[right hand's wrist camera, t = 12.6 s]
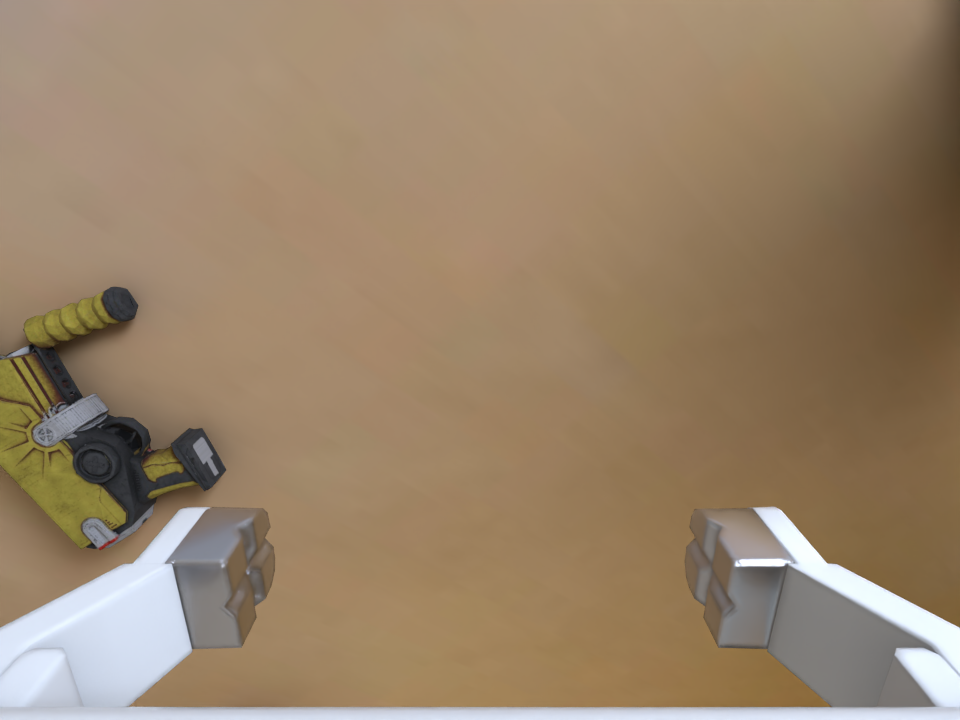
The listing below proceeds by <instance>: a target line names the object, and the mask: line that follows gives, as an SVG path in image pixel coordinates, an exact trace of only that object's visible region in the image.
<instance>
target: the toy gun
mask: <svg viewBox="0 0 960 720" xmlns="http://www.w3.org/2000/svg"><path fill="white" fill-rule="evenodd" d="M137 308H138V304H137V303H136V301H135V300H134V298H133V297H132V296H131V294H130V293H129V291H128V290H127V289H125V288H120V287H110V288H109V289H107V290H106V291H103V292H101V293H100V294H98V295H96V296H95V297H94V298H93V297H92V298H87V299H82V300H81V301H80V302H79V303H78V304H76V303H71V304H69V305H67V306H65V307H64V308H62V309H57V310H52V311H50V312H48V313H46V314H45V316H35V317H32V318H30V319H27V320H26V322H25V323H24V329H23V330H24V332H25V334H26V338H27V339H28V340H29V341H30V342H31V343H32V344H31V345H28V346H26V347H24V348H22V349H20V350H18V351H15V352H12V353H9V354H8V355H7V356H4V355H0V466H1V467H2V468H3V469H4V470H5V471H6V472H7V473H8V474H9V475H10V476H11V477H12V478H13V479H14V480H15V481H16V482H17V483H18V484H19V485H20V486H21V488H22V489H23V490H24V491H25V492H26V493H27V494H28V495H29V496H30V497H31V498H32V499H33V500H34V501H35V502H36V503H37V504H38V505H39V506H40V507H41V508H42V509H43V510H44V511H45V512H46V513H47V515H48V516H49V517H50V518H51V519H52V520H53V521H54V522H55V523H56V524H57V525H58V526H59V527H60V528H61V529H62V530H63V531H64V532H65V533H66V534H67V535H68V536H69V537H70V538H71V539H72V541H73V542H74V543H75V544H76V545H77V546H78V547H79V548H80V549H83V548H85V547H87V548H92V549H99V550H101V549H103V548H110V547H111V546H113V545H114V544H116V543H118V542H119V541H121V540H122V539H124V538H126V537H127V536H129V535H130V534H132V533H134V532H135V531H136V530H137V529H138V528H139V527H140V526H141V525H142V524H143V523H144V522H145V521H146V520H147V519H148V518H149V517H150V516H151V515H152V514H153V508H154V503H155V502H156V499H157V496H159V495H161V494H164V493H167V492H170V491H173V490H176V489H179V488H183V487H189V486H194V485H200V486H201V488H202V489H203V490H204V491H206V490H208V489H210V488H211V487H212V486H213V485H214V484H215V483H216V482H217V480H218V479H219V478H220V477H221V476H222V475H223V473H224V472H225V471H226V468H225V466H224V465H223V463H222V461H221V459H220V458H219V456H218V454H217V452H216V451H215V449H214V447H213V446H212V444H211V442H210V441H209V439H208V437H207V436H206V434H205V432H204V431H203V429H202V428H201V429H190V428H189V429H188V430H187V431H186V432H184V433H183V434H182V435H181V436H180V437H179V438H178V439H176V440H175V441H174V442H173V443H172V444H171V447H169V448H167V449H158V450H156V451H153V450H151V449H150V441H151V439H150V436H149V432H148V429H146V428H145V427H144V426H143V425H141V424H140V423H139V422H137V421H136V420H135V419H134V418H127V417H117V418H116V417H113V416H110V415H107V414H105V413H106V412H108V411H109V409H108V408H107V406H106V405H105V404H104V403H103V402H102V400H101V399H100V398H99V397H98V396H97V394H92V395H90V396H88V397H86V398H83V396H82V395H81V393H80V391H79V390H78V388H77V386H76V385H75V383H74V382H73V380H72V378H71V377H70V375H69V373H68V372H67V370H66V368H65V367H64V365H63V363H62V362H61V360H60V358H59V357H58V355H57V353H56V352H55V350H54V348H53V347H52V346H54V345H57V344H59V343H61V341H66V342H68V341H70V340H72V339H74V338H76V337H77V335H81V336H85V335H87V334H90V333H91V331H92V330H93V329H99V330H101V329H103V328H106V327H107V325H108V324H109V323H113V324H118V323H120V322H121V321H129V320H132V319H134V317H135V315H136V311H137Z"/></svg>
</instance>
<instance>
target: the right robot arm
mask: <svg viewBox="0 0 960 720" xmlns="http://www.w3.org/2000/svg"><path fill="white" fill-rule="evenodd" d="M269 529H270V523H269V518H268V513H267V512H266V511H265V510H264V509H263V508H224V507H212V508H209V507H186V508H183V509H180V510H179V511H178V512H177V513H176V514H175V515H174V516H173V517H172V519H171V520H170V521H169V522H168V523H167V524H166V526H165V527H164V528H163V529H162V530H161V531H160V533H159V534H158V535H157V536H156V537H155V538H154V540H153V541H152V542H151V543H150V544H149V545H148V546H147V548H146V549H145V550H144V551H143V552H142V553H141V555H140V556H139V557H138V558H137V559H136V560H135V562H134V563H133V564H123V565H121V566H119V567H117V568H115V569H113V570H111V571H109V572H107V573H105V574H103V575H101V576H99V577H98V578H96V579H94V580H92V581H90V582H88V583H86V584H84V585H82V586H80V587H78V588H76V589H74V590H72V591H70V592H69V593H67V594H65V595H63V596H61V597H59V598H57V599H55V600H53V601H51V602H49V603H47V604H45V605H43V606H41V607H39V608H38V609H36V610H34V611H32V612H30V613H28V614H26V615H24V616H22V617H20V618H18V619H16V620H14V621H12V622H10V623H9V624H7V625H5V626H3V627H1V628H0V720H960V628H959V627H957V626H955V625H953V624H951V623H949V622H947V621H945V620H943V619H941V618H940V617H938V616H936V615H934V614H932V613H930V612H928V611H926V610H924V609H922V608H920V607H918V606H916V605H914V604H913V603H911V602H909V601H907V600H905V599H903V598H901V597H899V596H897V595H895V594H893V593H891V592H889V591H887V590H886V589H884V588H882V587H880V586H878V585H876V584H874V583H872V582H870V581H868V580H866V579H864V578H862V577H860V576H859V575H857V574H855V573H853V572H851V571H849V570H847V569H845V568H843V567H841V566H839V565H837V564H827V563H826V562H825V560H824V559H823V558H822V557H821V556H820V555H819V554H818V552H817V551H816V550H815V549H814V548H813V547H812V545H811V544H810V543H809V542H808V541H807V540H806V538H805V537H804V536H803V535H802V534H801V533H800V531H799V530H798V529H797V528H796V527H795V526H794V524H793V523H792V522H791V521H790V520H789V519H788V518H787V516H786V515H785V514H784V513H783V512H782V511H781V510H780V509H778V508H776V507H753V508H734V509H695V510H694V512H693V514H692V516H691V522H690V529H691V531H692V532H693V534H694V536H695V539H694V540H693V541H692V542H691V543H690V544H689V545H688V546H687V547H686V555H685V570H686V578H687V581H688V585H689V588H690V590H691V592H692V595H693V597H694V599H696V600H697V601H699V602H700V603H701V604H703V605H704V606H705V611H704V617H703V618H704V620H705V622H706V624H707V626H708V628H709V630H710V632H711V634H712V636H713V638H714V640H715V642H716V644H717V646H718V648H751V649H768V652H769V653H770V654H771V655H772V656H773V657H775V658H776V659H777V660H778V661H779V662H780V663H782V664H783V665H784V666H785V667H786V668H787V669H789V670H790V671H791V672H792V673H793V674H794V675H796V676H797V677H798V678H799V679H800V680H801V681H803V682H804V683H805V684H806V685H807V686H808V687H810V688H811V689H812V690H813V691H814V692H815V693H817V694H818V695H819V696H820V697H821V698H822V699H824V700H825V701H826V702H827V703H828V704H829V705H831V706H832V707H128V706H130V705H131V704H132V703H133V702H134V701H135V700H137V699H138V698H139V697H140V696H141V695H142V694H144V693H145V692H146V691H147V690H148V689H149V688H151V687H152V686H153V685H154V684H155V683H156V682H158V681H159V680H160V679H161V678H162V677H163V676H165V675H166V674H167V673H168V672H169V671H170V670H172V669H173V668H174V667H175V666H176V665H177V664H179V663H180V662H181V661H182V660H183V659H184V658H186V657H187V656H188V655H189V654H190V653H192V649H208V648H242V646H243V644H244V642H245V640H246V638H247V636H248V634H249V632H250V630H251V628H252V626H253V624H254V622H255V620H256V611H255V606H256V605H257V604H259V603H260V602H261V601H263V600H264V599H266V597H267V595H268V592H269V590H270V588H271V585H272V581H273V576H274V572H275V554H274V547H273V546H272V545H271V544H270V543H269V542H268V541H267V540H266V539H265V536H266V534H267V532H268V531H269Z"/></svg>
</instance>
